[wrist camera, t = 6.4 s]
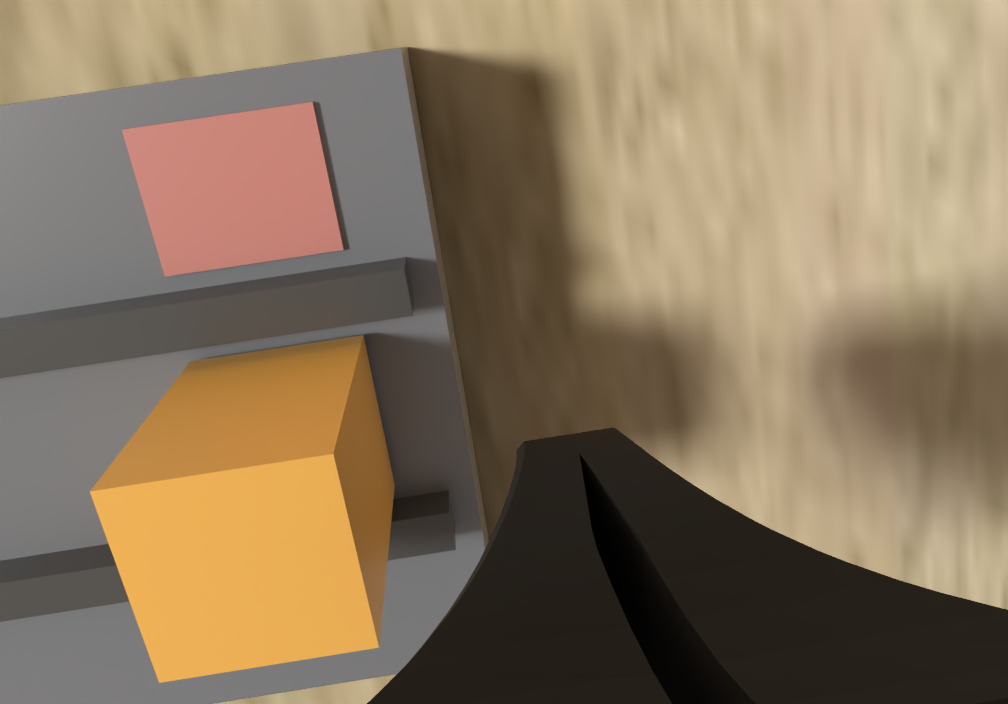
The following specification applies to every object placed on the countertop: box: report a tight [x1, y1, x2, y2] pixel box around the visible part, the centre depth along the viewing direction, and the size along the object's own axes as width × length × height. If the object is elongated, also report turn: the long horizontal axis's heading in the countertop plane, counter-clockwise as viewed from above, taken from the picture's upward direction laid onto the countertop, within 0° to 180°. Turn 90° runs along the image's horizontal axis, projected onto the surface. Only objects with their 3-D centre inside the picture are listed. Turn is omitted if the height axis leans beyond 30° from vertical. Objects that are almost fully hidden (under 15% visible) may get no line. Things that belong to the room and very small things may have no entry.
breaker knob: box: [90, 335, 395, 683], centre depth 13 cm, size 3×3×4 cm
